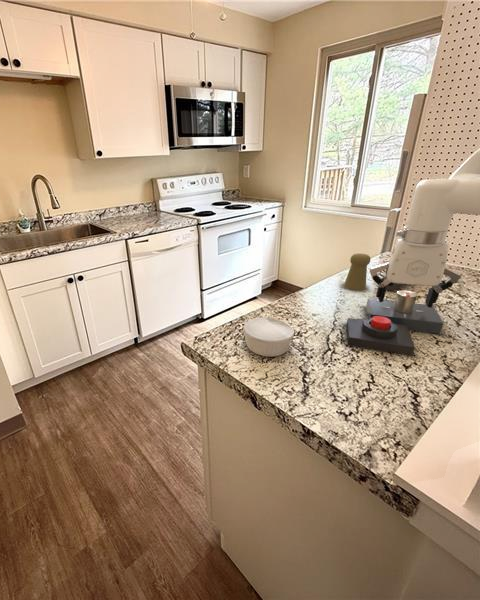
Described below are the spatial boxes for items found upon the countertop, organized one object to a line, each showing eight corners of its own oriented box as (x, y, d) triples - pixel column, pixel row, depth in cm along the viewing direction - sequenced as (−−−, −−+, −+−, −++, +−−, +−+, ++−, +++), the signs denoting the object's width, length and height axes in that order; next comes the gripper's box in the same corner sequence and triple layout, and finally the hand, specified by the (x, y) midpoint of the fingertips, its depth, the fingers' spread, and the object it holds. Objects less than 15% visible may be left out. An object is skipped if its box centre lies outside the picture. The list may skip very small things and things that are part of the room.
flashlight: (397, 293, 94) (401, 277, 91) (378, 288, 98) (381, 272, 96) (424, 280, 99) (429, 265, 97) (405, 276, 104) (409, 261, 102)
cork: (342, 282, 104) (348, 251, 99) (363, 283, 102) (370, 251, 97) (345, 290, 99) (351, 257, 94) (367, 291, 97) (375, 257, 92)
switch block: (404, 333, 75) (408, 318, 74) (412, 355, 68) (417, 340, 66) (346, 324, 81) (349, 311, 79) (347, 345, 73) (350, 330, 71)
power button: (388, 323, 73) (389, 317, 73) (390, 331, 70) (392, 324, 70) (369, 321, 75) (371, 314, 74) (371, 328, 72) (372, 322, 71)
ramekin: (299, 343, 75) (301, 325, 73) (279, 366, 69) (282, 346, 66) (255, 330, 83) (257, 312, 81) (234, 349, 76) (235, 330, 74)
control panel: (429, 315, 81) (433, 304, 80) (439, 334, 74) (444, 322, 72) (365, 307, 88) (367, 297, 87) (368, 324, 80) (371, 313, 79)
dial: (391, 305, 82) (396, 288, 80) (410, 307, 80) (416, 290, 78) (393, 311, 79) (398, 294, 77) (414, 314, 77) (419, 296, 75)
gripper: (379, 238, 72) (363, 303, 80) (481, 242, 64) (453, 314, 72) (376, 231, 78) (361, 292, 86) (469, 233, 70) (444, 301, 78)
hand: (403, 302), depth 79 cm, fingers open, 9 cm apart
